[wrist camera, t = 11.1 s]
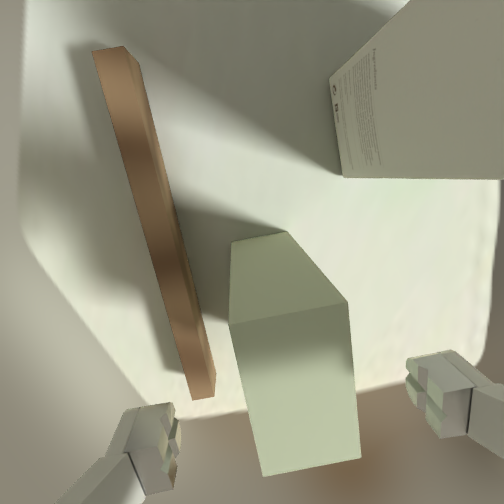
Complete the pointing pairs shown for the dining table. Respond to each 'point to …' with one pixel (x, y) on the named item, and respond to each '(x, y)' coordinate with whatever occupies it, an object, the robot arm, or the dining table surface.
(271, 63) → the dining table surface
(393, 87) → the skincare box
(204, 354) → the rail
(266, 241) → the sage tea box
